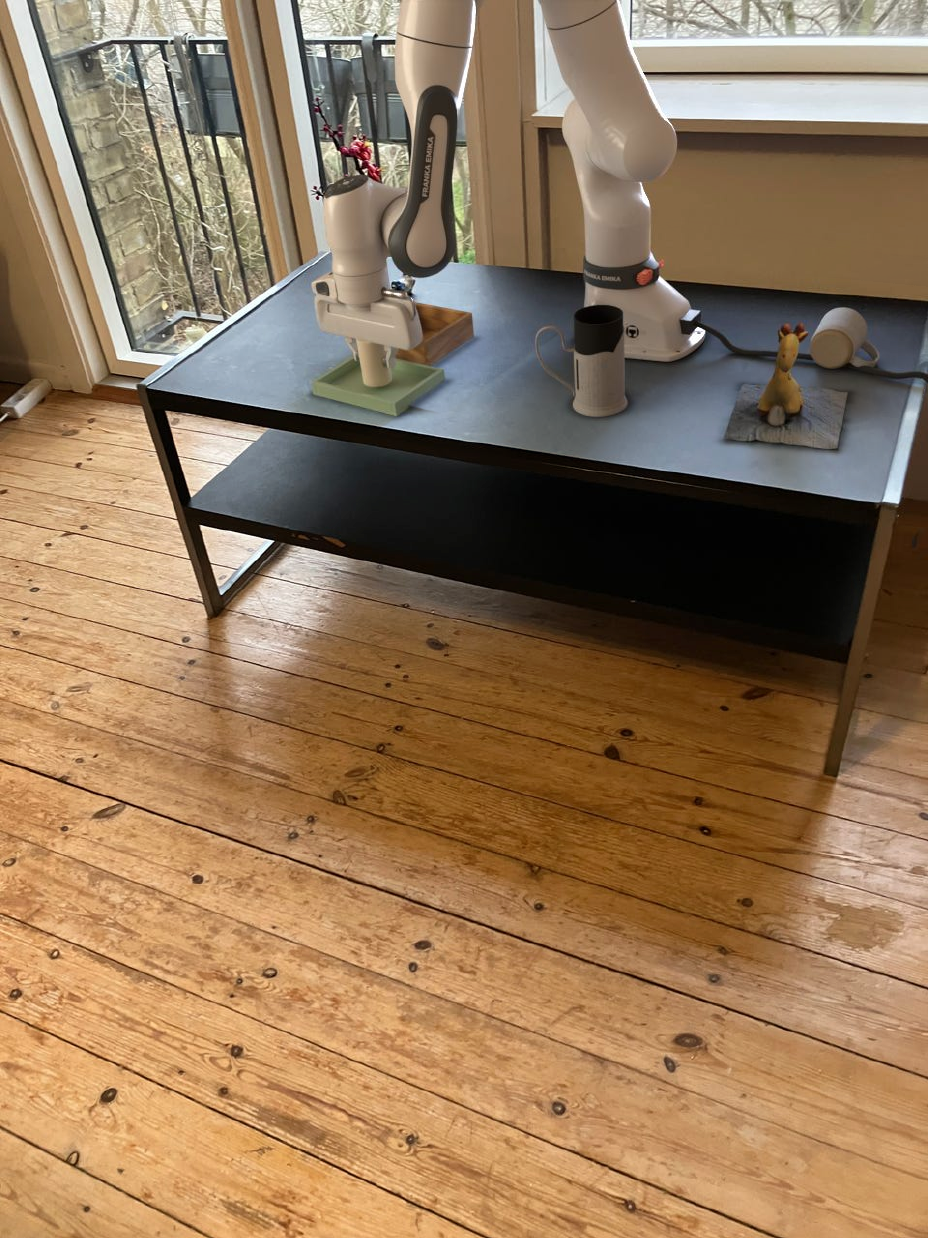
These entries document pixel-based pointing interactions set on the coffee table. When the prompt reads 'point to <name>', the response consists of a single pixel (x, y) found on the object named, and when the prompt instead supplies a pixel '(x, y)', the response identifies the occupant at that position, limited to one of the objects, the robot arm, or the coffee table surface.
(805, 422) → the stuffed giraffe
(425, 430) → the coffee table surface
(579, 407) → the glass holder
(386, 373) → the candle
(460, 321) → the wooden box
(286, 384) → the coffee table surface
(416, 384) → the tray
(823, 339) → the ceramic mug
